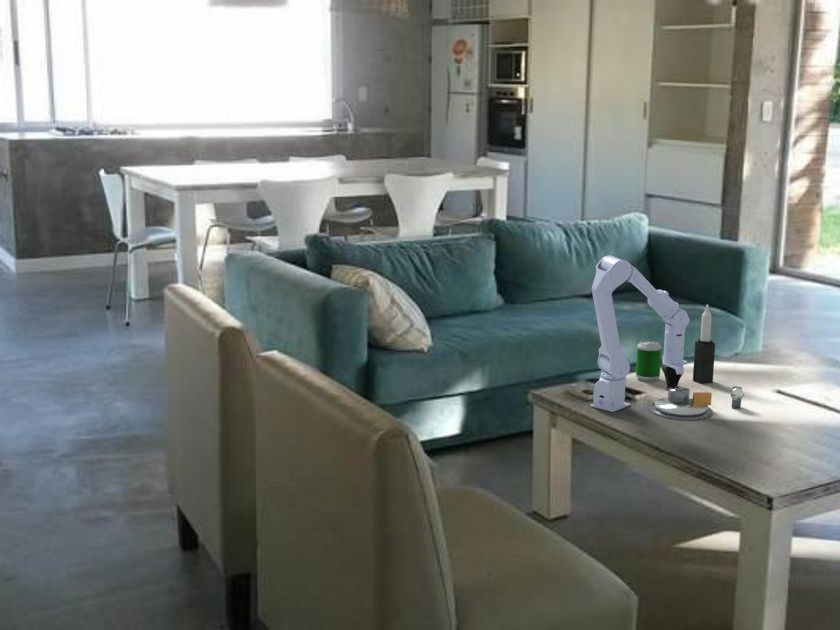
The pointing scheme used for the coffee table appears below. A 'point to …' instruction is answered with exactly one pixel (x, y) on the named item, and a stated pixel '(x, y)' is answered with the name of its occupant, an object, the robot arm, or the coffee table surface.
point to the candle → (704, 352)
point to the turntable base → (654, 411)
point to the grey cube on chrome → (737, 397)
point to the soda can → (648, 361)
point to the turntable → (686, 405)
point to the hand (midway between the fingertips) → (671, 391)
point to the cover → (678, 395)
